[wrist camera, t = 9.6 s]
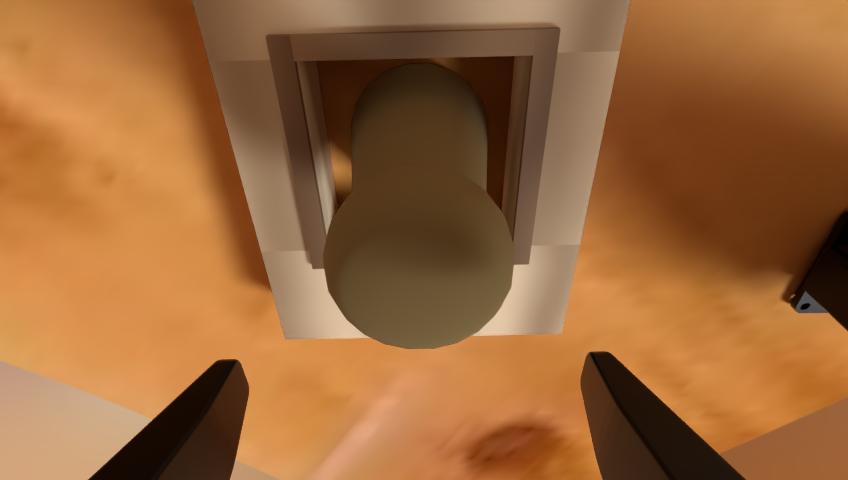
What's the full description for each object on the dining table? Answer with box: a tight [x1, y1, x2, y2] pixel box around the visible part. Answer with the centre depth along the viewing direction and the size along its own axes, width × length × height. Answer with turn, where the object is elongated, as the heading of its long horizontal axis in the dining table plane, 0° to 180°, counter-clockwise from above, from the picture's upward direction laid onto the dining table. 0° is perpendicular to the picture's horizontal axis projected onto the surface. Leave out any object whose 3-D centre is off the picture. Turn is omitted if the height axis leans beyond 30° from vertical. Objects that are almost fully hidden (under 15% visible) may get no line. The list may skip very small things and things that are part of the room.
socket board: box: [192, 0, 631, 339], centre depth 19 cm, size 14×19×3 cm
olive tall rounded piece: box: [323, 63, 515, 349], centre depth 16 cm, size 6×6×11 cm
